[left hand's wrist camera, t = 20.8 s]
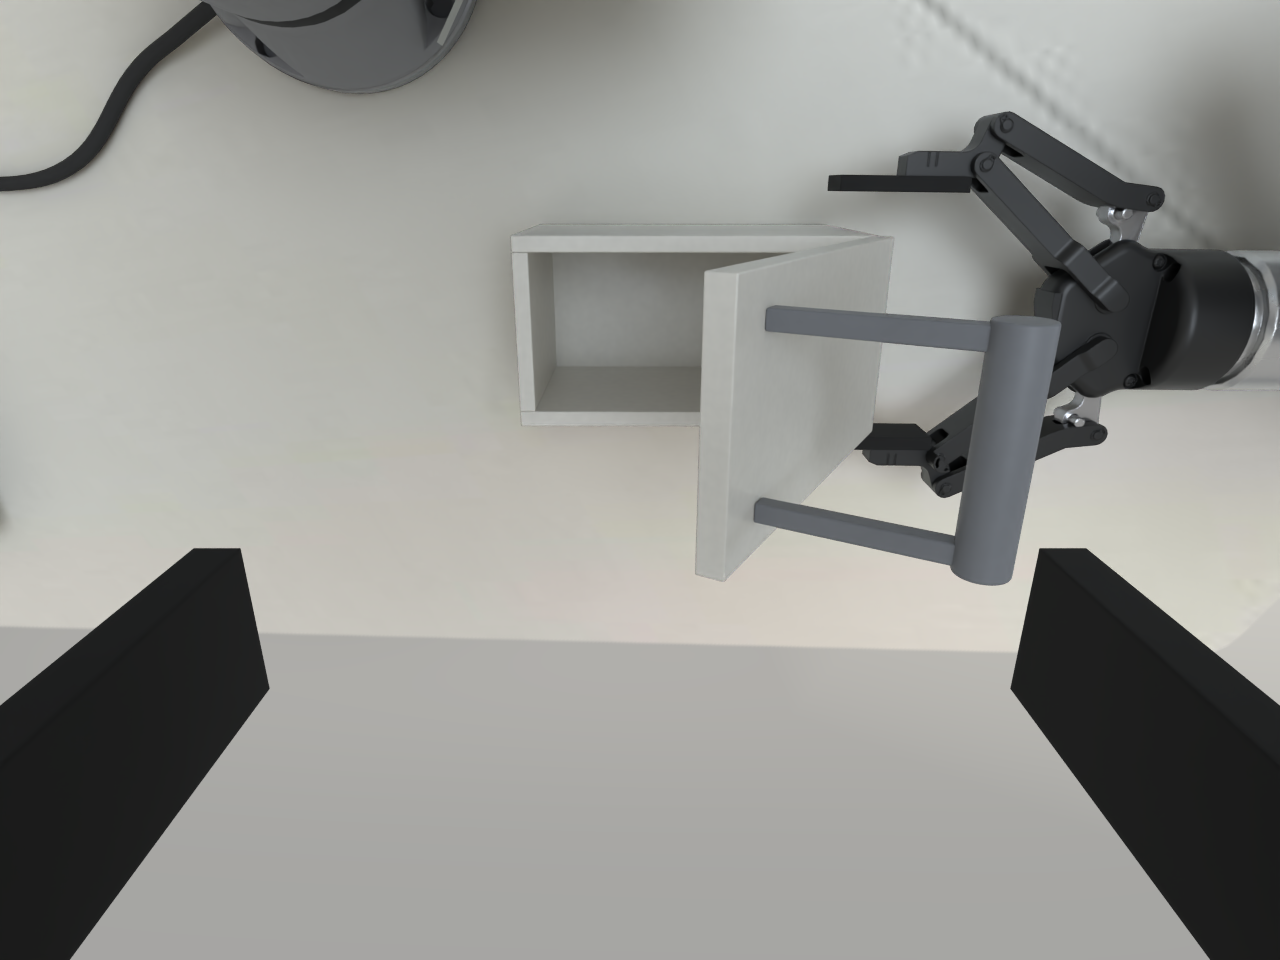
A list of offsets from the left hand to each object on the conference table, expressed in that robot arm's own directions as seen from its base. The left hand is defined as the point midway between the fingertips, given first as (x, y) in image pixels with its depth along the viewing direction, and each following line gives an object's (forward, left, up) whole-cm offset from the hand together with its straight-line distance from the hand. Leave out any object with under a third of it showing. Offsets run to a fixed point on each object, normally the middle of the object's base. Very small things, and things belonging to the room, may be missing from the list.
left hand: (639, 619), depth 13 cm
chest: (+3, 0, -37) cm, 37 cm away
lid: (+6, -1, -18) cm, 19 cm away
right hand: (+10, -2, -31) cm, 33 cm away
